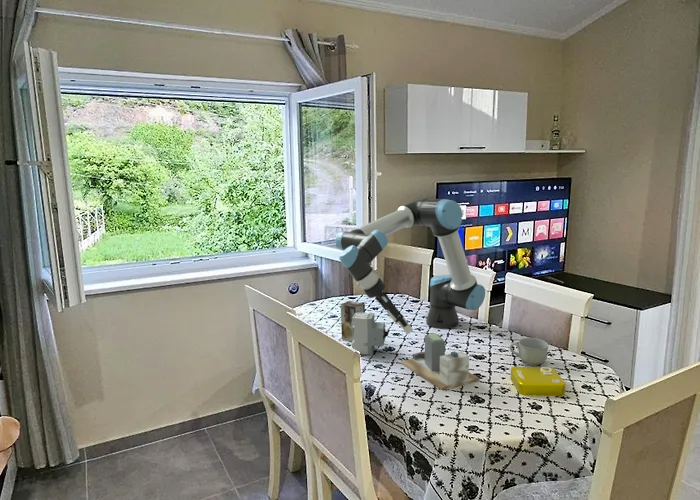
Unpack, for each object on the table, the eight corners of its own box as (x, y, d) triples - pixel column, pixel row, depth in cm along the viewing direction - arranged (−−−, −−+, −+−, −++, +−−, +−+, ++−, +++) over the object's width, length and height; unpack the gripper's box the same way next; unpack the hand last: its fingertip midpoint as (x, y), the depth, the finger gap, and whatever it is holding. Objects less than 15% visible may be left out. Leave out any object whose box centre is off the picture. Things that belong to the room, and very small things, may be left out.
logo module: (437, 361, 194) (437, 332, 192) (444, 370, 186) (445, 339, 184) (424, 362, 193) (424, 333, 191) (431, 371, 185) (431, 340, 183)
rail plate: (435, 355, 202) (435, 328, 200) (479, 380, 179) (479, 350, 177) (401, 363, 196) (401, 335, 194) (441, 390, 173) (442, 359, 171)
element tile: (509, 377, 182) (509, 364, 182) (551, 377, 181) (552, 365, 181) (519, 396, 168) (520, 383, 167) (566, 397, 167) (567, 383, 166)
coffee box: (366, 339, 222) (365, 303, 219) (356, 343, 218) (355, 307, 215) (350, 335, 228) (350, 300, 226) (340, 338, 224) (340, 303, 221)
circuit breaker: (387, 355, 204) (386, 319, 201) (352, 353, 207) (351, 318, 204) (389, 348, 211) (389, 313, 208) (355, 346, 214) (354, 312, 211)
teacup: (547, 358, 197) (547, 338, 196) (547, 369, 187) (549, 348, 186) (509, 354, 202) (510, 335, 200) (508, 365, 192) (509, 345, 190)
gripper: (355, 283, 196) (387, 323, 201) (371, 298, 172) (407, 343, 177) (370, 271, 197) (401, 311, 202) (388, 284, 173) (423, 329, 178)
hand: (404, 326), depth 190 cm, fingers open, 13 cm apart
